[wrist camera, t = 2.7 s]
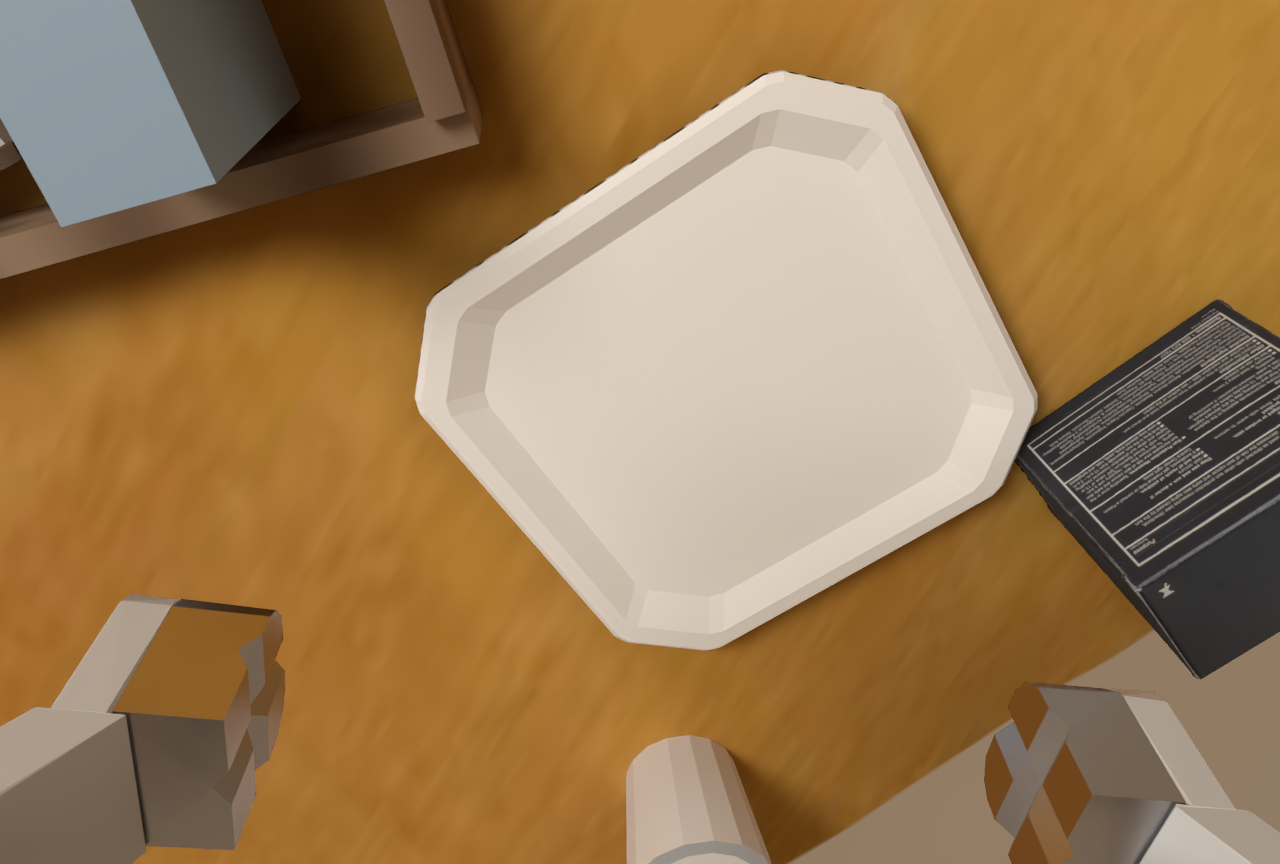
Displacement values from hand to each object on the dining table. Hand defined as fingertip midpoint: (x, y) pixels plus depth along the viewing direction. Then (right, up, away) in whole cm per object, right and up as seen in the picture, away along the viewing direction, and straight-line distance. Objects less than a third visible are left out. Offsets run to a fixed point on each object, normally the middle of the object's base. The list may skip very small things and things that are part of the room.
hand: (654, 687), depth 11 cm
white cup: (+2, -15, +41) cm, 43 cm away
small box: (+22, +3, +33) cm, 40 cm away
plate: (+4, +5, +31) cm, 31 cm away
